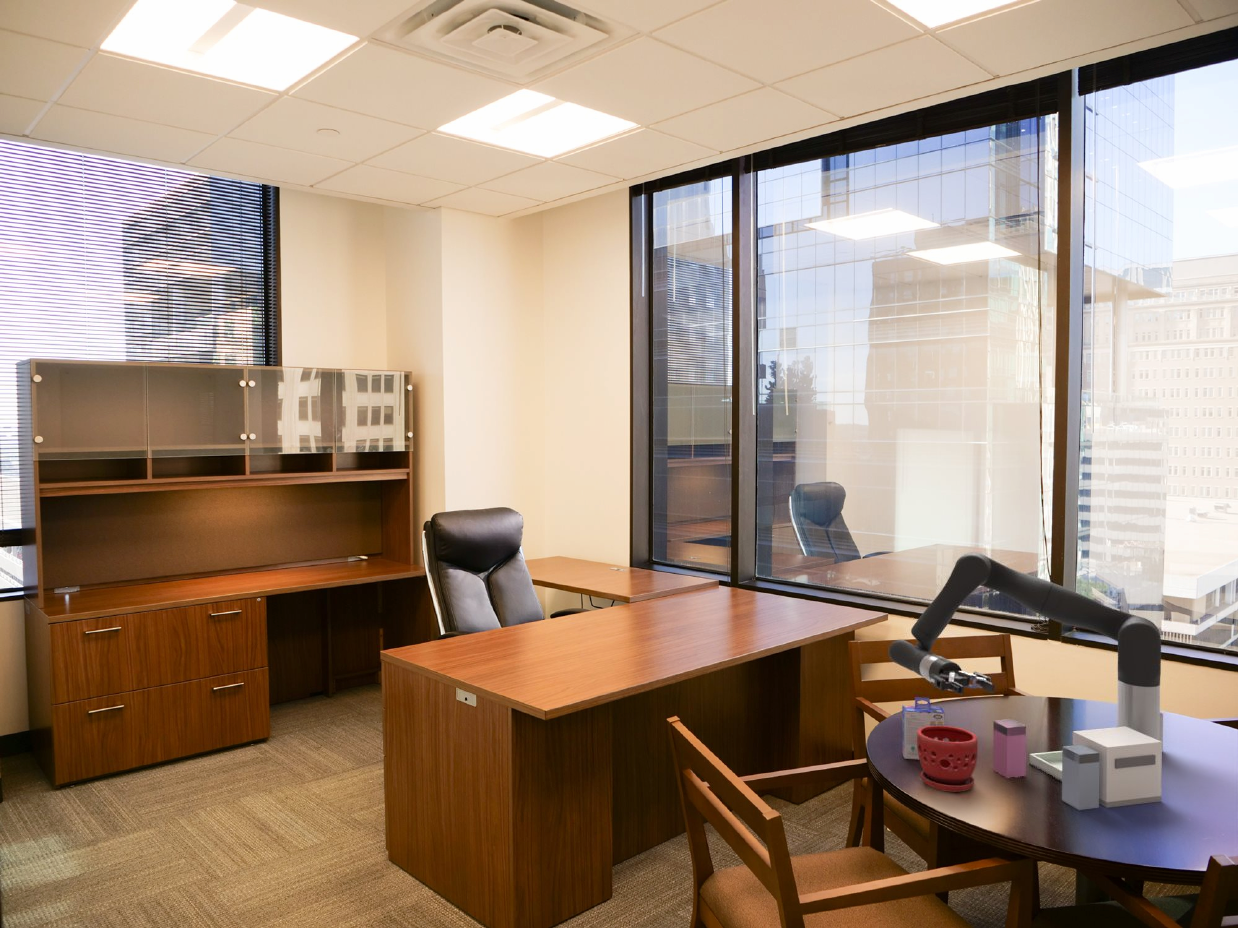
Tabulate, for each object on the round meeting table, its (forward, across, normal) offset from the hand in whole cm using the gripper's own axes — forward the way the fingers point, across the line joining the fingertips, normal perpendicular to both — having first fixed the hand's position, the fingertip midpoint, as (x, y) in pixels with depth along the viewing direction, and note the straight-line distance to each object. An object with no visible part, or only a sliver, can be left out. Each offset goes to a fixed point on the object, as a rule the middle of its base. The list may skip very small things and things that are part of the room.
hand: (978, 689), depth 210 cm
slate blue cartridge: (+30, +4, +16) cm, 34 cm away
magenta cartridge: (+12, 0, +16) cm, 20 cm away
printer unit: (+28, +15, +16) cm, 36 cm away
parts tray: (+14, +14, +16) cm, 26 cm away
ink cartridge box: (-2, -14, +17) cm, 22 cm away
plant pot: (+14, -18, +17) cm, 28 cm away
